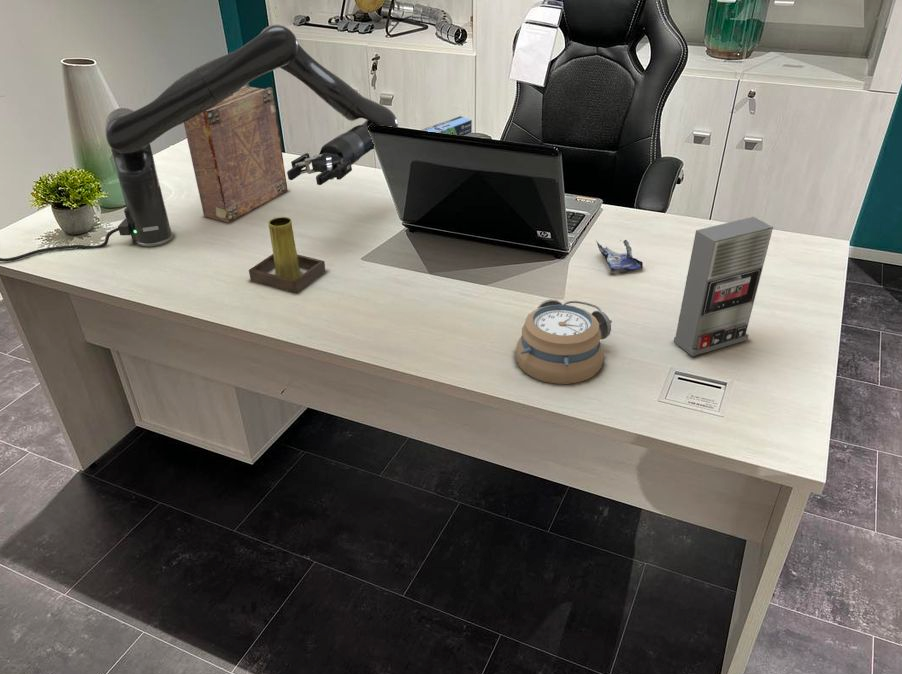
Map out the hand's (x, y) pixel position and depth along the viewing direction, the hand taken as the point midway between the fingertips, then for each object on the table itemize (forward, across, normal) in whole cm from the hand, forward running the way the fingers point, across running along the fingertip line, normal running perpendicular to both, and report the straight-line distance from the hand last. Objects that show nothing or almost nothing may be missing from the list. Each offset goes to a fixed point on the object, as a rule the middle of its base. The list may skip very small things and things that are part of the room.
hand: (303, 178), depth 178 cm
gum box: (-40, +13, +24) cm, 48 cm away
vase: (+12, 0, +20) cm, 23 cm away
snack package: (-30, +67, +26) cm, 78 cm away
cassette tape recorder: (-6, +95, +25) cm, 98 cm away
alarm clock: (+11, +70, +23) cm, 74 cm away
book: (-17, -39, +21) cm, 47 cm away
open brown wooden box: (+12, 0, +20) cm, 23 cm away
